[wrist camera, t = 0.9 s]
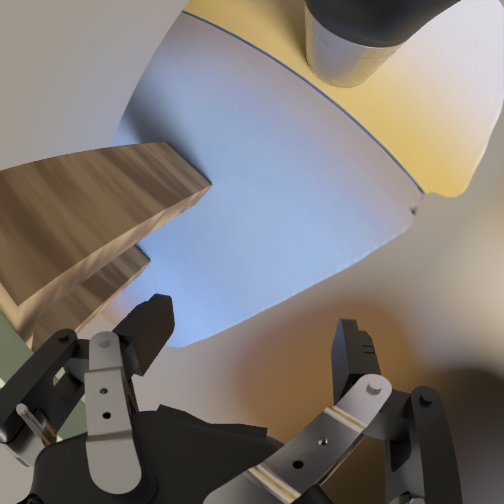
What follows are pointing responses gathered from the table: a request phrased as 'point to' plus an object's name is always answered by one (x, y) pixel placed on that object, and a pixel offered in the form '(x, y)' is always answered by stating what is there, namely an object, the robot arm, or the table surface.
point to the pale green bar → (14, 356)
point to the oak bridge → (83, 230)
